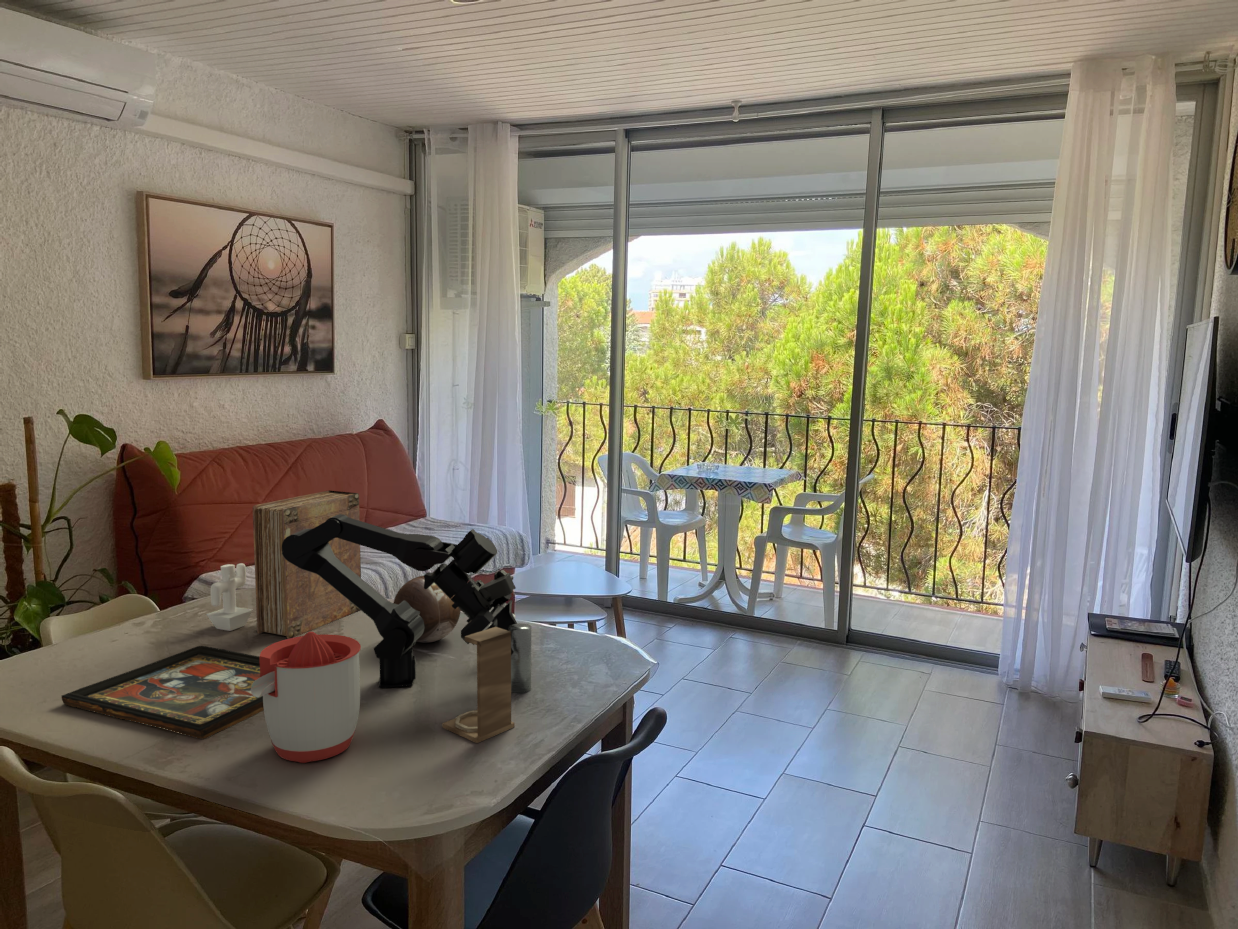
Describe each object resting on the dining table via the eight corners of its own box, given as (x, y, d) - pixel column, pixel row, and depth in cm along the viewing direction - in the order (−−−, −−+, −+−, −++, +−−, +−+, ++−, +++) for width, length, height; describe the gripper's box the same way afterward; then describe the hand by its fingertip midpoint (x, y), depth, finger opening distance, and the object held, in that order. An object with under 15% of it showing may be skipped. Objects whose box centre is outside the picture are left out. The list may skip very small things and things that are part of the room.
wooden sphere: (428, 657, 187) (427, 589, 185) (379, 643, 195) (377, 578, 193) (474, 637, 200) (474, 574, 198) (426, 626, 208) (425, 564, 206)
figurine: (202, 630, 202) (199, 567, 200) (234, 619, 211) (231, 558, 209) (226, 635, 200) (223, 571, 198) (257, 623, 208) (255, 562, 206)
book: (287, 639, 197) (282, 509, 193) (256, 634, 201) (251, 505, 197) (362, 609, 220) (359, 492, 216) (333, 605, 224) (330, 489, 220)
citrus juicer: (237, 750, 143) (231, 632, 141) (336, 719, 155) (333, 611, 153) (277, 784, 132) (272, 658, 130) (380, 749, 144) (378, 632, 142)
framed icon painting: (340, 672, 179) (340, 659, 179) (220, 747, 146) (219, 730, 145) (187, 653, 189) (186, 640, 189) (41, 718, 156) (40, 702, 155)
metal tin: (509, 693, 168) (509, 631, 166) (508, 685, 172) (508, 624, 171) (532, 692, 169) (532, 630, 167) (530, 683, 173) (530, 623, 172)
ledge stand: (442, 727, 153) (441, 630, 150) (479, 712, 159) (479, 619, 157) (477, 743, 147) (476, 642, 145) (514, 727, 153) (514, 630, 151)
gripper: (476, 573, 159) (536, 634, 159) (501, 550, 177) (554, 604, 177) (435, 613, 161) (494, 673, 161) (463, 586, 179) (517, 640, 179)
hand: (517, 646), depth 170 cm, fingers open, 9 cm apart
